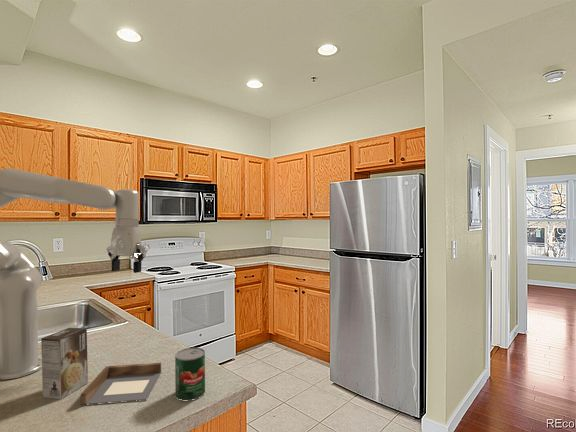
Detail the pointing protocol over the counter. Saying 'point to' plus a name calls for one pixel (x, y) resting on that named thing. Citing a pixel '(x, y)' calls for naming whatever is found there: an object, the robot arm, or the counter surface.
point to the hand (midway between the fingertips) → (126, 271)
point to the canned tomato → (190, 373)
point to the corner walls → (117, 371)
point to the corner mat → (125, 388)
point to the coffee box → (64, 362)
